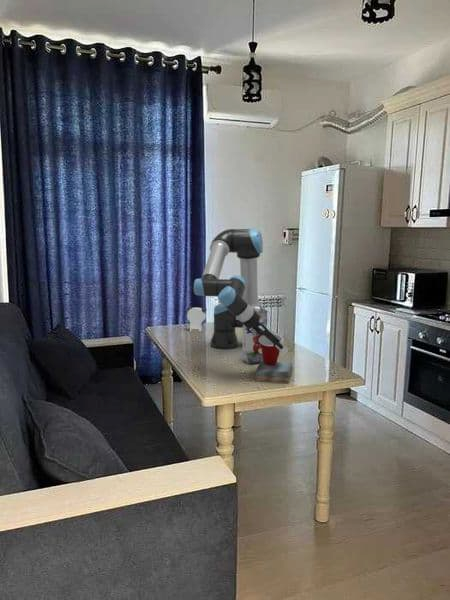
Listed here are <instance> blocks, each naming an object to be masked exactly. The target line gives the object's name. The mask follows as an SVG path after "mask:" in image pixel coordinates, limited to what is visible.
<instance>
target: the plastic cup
mask: <svg viewBox="0 0 450 600" xmlns="http://www.w3.org/2000/svg"><path fill="white" fill-rule="evenodd" d="M272 334H273V335H274V336H275V337H276V338H277V339H279V340H280V342H281V343H282V344H283V342H284V337H283V336H282V335H280V334H277V333H272ZM259 342H260V345H261V349H262V356H263V361H264V364H266V365H270V366H272V365H275V364H276V363H277V362H278V359H279V356H280V353H281V351H280V350H279V349H278V348H277V347H276V346H273V345H274V344H273V343H272V342H271V341H270V340H269V339H267V338H266V337H265V336H264V335H262V336H260V337H259Z"/></svg>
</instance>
